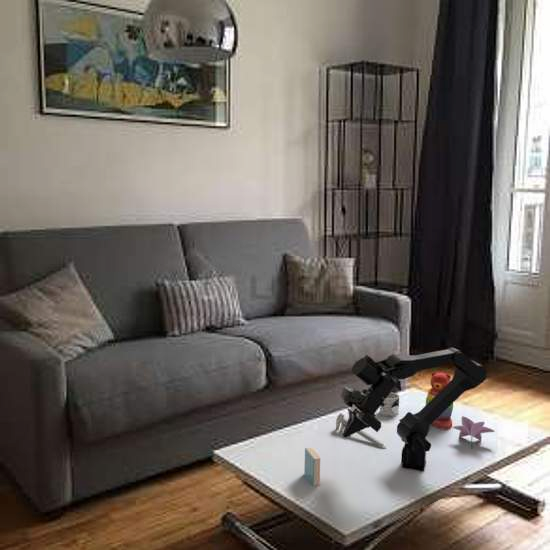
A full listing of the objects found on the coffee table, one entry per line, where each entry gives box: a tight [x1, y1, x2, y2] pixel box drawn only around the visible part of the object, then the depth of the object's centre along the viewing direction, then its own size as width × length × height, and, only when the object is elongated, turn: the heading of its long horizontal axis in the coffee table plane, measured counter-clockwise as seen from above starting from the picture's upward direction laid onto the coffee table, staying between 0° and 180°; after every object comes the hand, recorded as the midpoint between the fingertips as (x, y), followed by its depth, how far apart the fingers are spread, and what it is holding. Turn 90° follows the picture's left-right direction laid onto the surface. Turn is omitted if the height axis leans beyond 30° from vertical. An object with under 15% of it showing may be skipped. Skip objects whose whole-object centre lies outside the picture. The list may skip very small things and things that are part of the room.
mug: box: [379, 391, 400, 417], centre depth 229 cm, size 10×7×7 cm, turn 149°
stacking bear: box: [425, 371, 454, 430], centre depth 219 cm, size 11×10×18 cm
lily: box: [451, 416, 495, 449], centre depth 203 cm, size 12×12×10 cm
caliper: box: [335, 412, 387, 450], centre depth 206 cm, size 20×1×6 cm, turn 44°
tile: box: [303, 446, 321, 487], centre depth 178 cm, size 2×7×8 cm, turn 17°
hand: (343, 436), depth 180 cm, fingers closed
